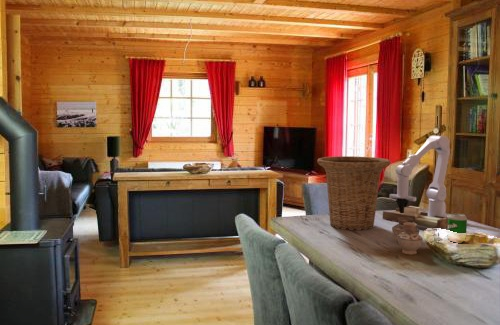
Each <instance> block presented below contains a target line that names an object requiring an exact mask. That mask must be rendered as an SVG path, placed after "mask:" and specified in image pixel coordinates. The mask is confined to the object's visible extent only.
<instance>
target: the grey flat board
mask: <svg viewBox="0 0 500 325" xmlns="http://www.w3.org/2000/svg"><path fill="white" fill-rule="evenodd" d="M432 217H436V218H445V217H441V216H432ZM413 223H416V224H417V222H413ZM416 227H417V228H418V229H419V230H422V231H425V230H424V229H427V228H437V226H434V227H431V226H426V225H420V224H417V226H416Z"/></svg>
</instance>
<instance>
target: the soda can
mask: <svg viewBox="0 0 500 325" xmlns="http://www.w3.org/2000/svg"><path fill="white" fill-rule="evenodd" d="M447 217H448V227H447V230H450V231H453V232H457V233H466V234H467V229H468V228H467V224H468V218H467V216H466V215H465V214H463V213H456V212H455V213H450V214H449V215H447Z"/></svg>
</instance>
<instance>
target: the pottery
mask: <svg viewBox="0 0 500 325" xmlns="http://www.w3.org/2000/svg"><path fill="white" fill-rule="evenodd" d="M397 222H398V223H397V224H395V225H394V226H392V228H391V230H392V234H393V236H394V237H395V239H396V240H397V243H398V245H399V246H400V248H401V249H402V250H401V253H403V254H405V255H416V254H417V253H418V252H417V250H418V249H419V248H420V247H421V246H422V243H423V239H424V238H423V236H421V235H420V230H421V229H418V228H417V227H416V226H417V224H416V223H413V219H412V218H406V217H405V218H404V217H403V218H398V221H397Z"/></svg>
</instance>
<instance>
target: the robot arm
mask: <svg viewBox="0 0 500 325" xmlns="http://www.w3.org/2000/svg"><path fill="white" fill-rule="evenodd" d="M450 143H451V140H450V139H449V138H448V137H447V136H445V135H435V134H433V135H430V136H429V137H428V138H427V139H426V141H425V142H424V143H423V144H422V146H421V147H420V148H419V149H418V150H417V152H416V153H415V154H409V155H408V157H407V158H406V160H404V161H403V162H402V164H399V165H397V167H396V169H395V171H394V172H395V174H396V176H397V181H396V182H397V183H396V184H397V187H396V188H397V189H396V194H395V193H390V194H388V195H389V199H395V202H396V204H397V206H398V208H399V210H400V213H404V207H408V204H409V202H410V201H411V202H416V201H417V197H416V196H411V195H409V189H410V188H409V186H410V184H409V183H410V176H411V175H412V173H413V172H412V171H413V170H414V168H416V166H418V164H419V163H421V159H422V158H423V157H424V156H425V155H426V154H427V153H428V152H430V151H431V150H434V149H435V151H436V152H437V153H438V155H437V159H436V164H435V170H434V173H433V174H434V175H433V179H432V182H431V183H430V184H429V186H428V188H427V190H426V197H427V198H428V216H430V217H432V216H441V217H448V215H446V209H447V204H446V202H445V200H446V199H447V187H446V185H445V179H446V175H447V174H446V173H447V170H448V165H449V160H450V154H451V149H450Z"/></svg>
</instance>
